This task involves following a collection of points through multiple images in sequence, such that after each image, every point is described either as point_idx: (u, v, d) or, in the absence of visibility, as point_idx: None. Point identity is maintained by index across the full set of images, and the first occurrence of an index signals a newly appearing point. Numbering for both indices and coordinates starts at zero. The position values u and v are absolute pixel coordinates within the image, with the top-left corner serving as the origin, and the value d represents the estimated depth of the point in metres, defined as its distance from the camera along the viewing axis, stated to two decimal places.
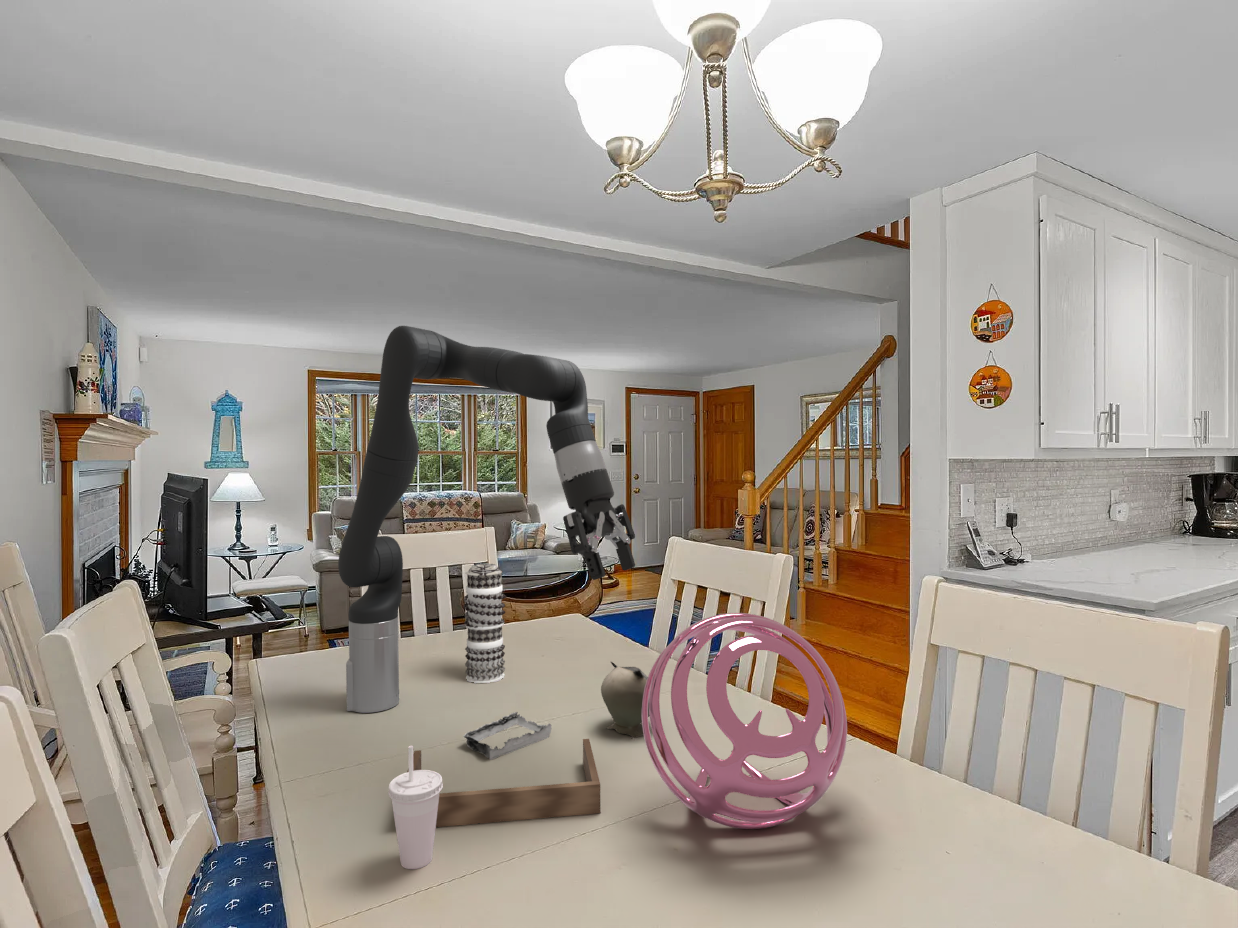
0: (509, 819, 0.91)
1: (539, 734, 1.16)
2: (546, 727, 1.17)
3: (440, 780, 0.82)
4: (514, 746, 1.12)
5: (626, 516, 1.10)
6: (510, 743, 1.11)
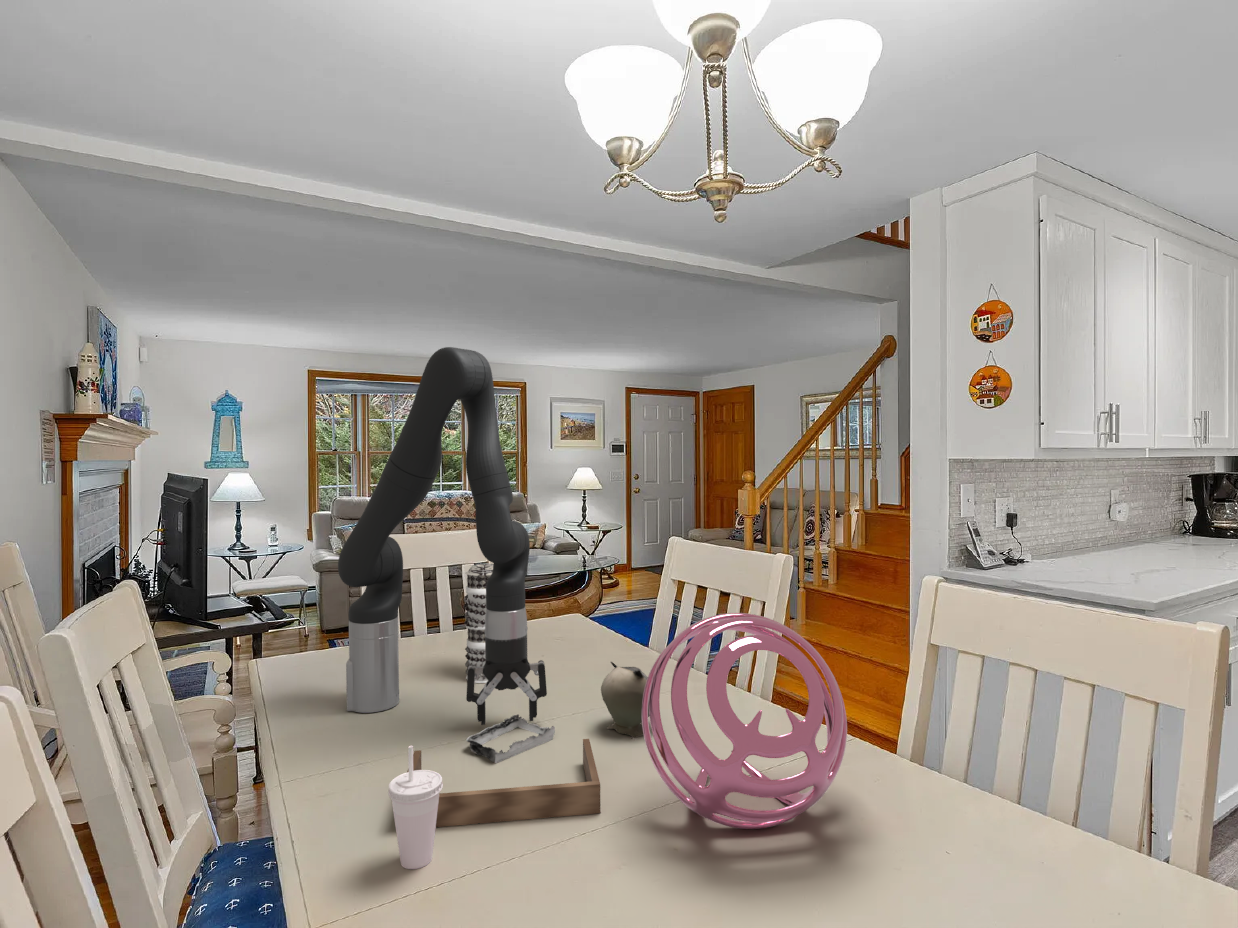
0: (509, 819, 0.91)
1: (542, 737, 1.15)
2: (550, 729, 1.16)
3: (440, 780, 0.82)
4: (519, 749, 1.11)
5: (542, 675, 1.21)
6: (514, 746, 1.10)
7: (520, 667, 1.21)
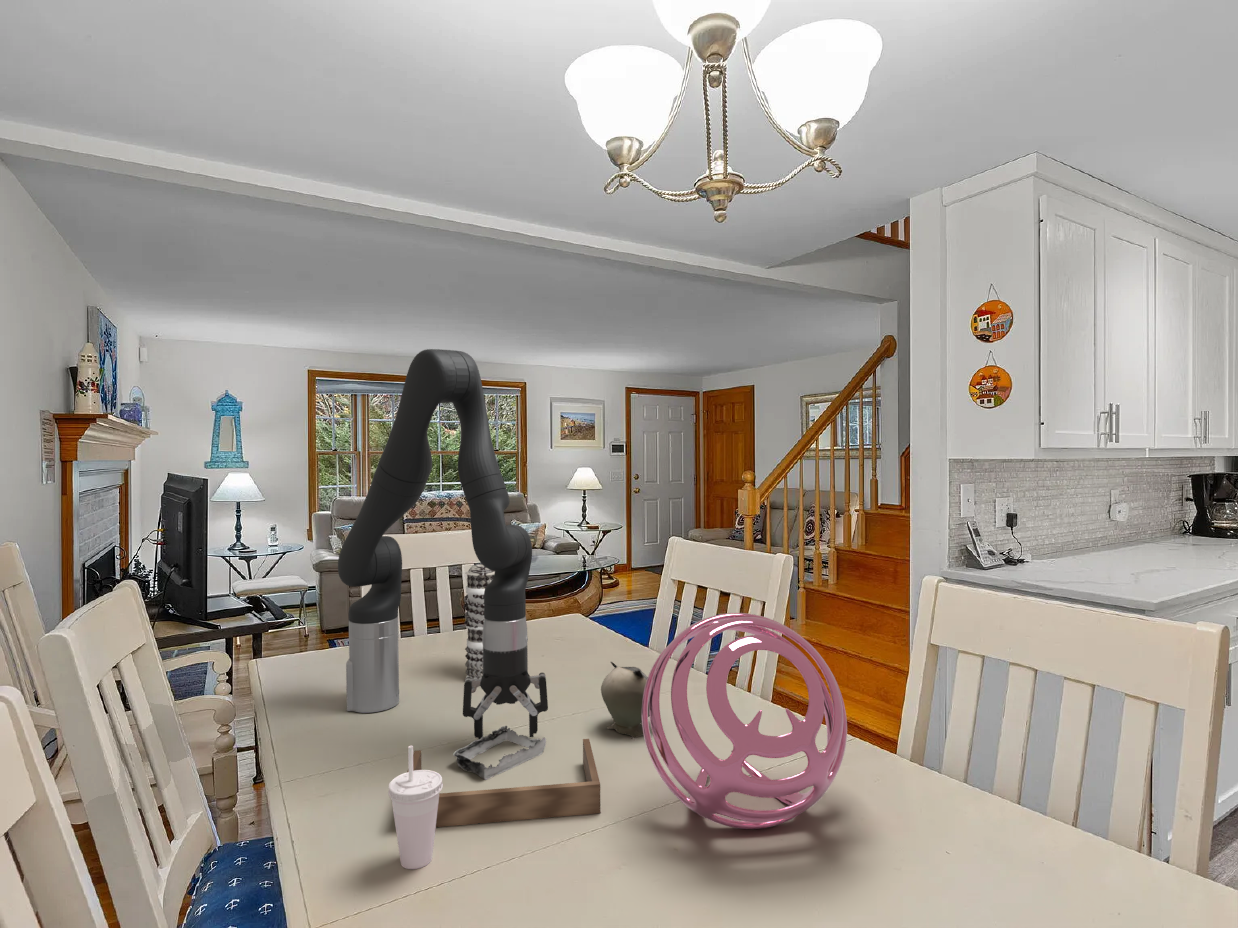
0: (509, 819, 0.91)
1: (533, 749, 1.09)
2: (541, 741, 1.11)
3: (440, 780, 0.82)
4: (509, 763, 1.06)
5: (543, 689, 1.14)
6: (504, 760, 1.05)
7: (520, 680, 1.14)
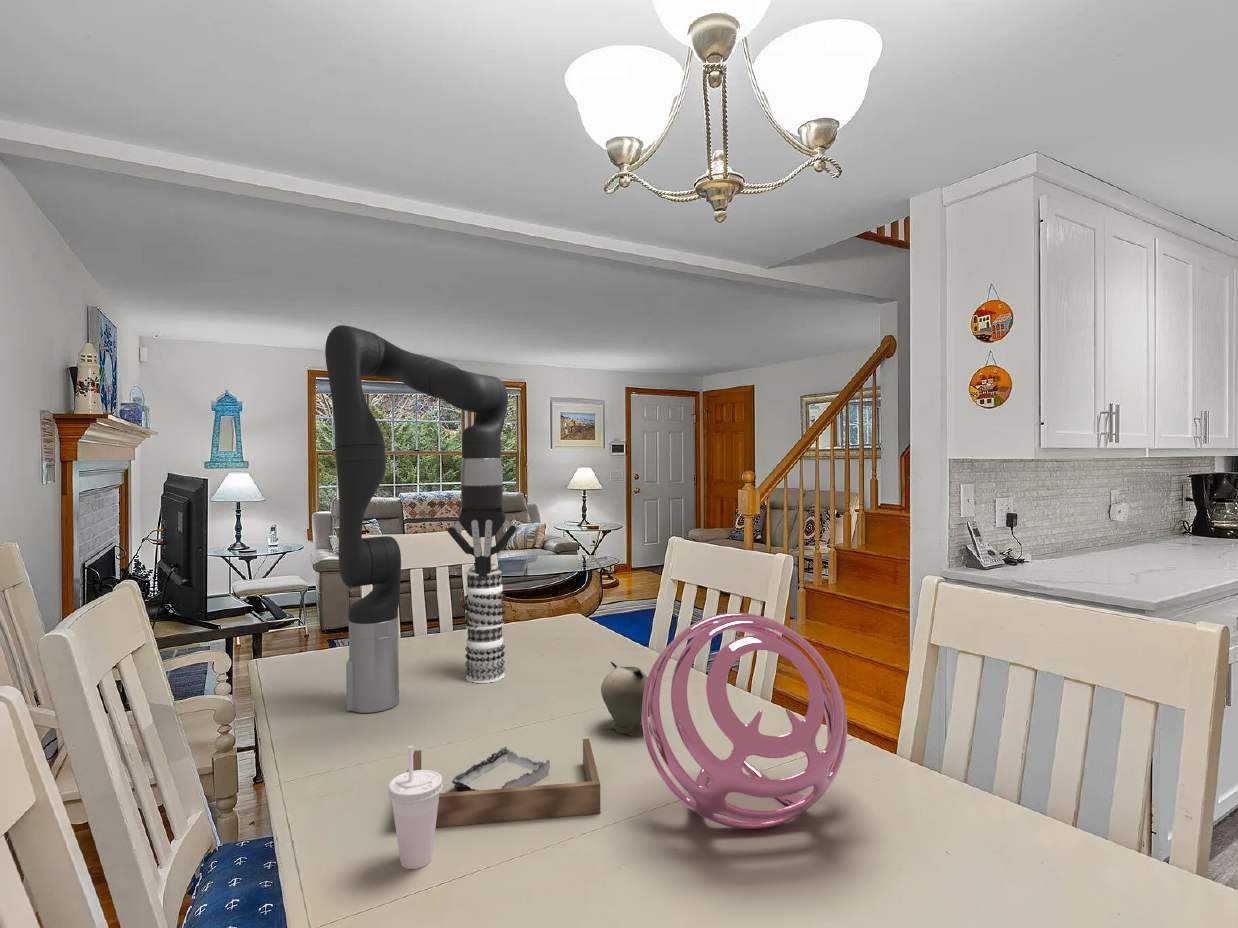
0: (509, 819, 0.91)
1: (537, 773, 1.02)
2: (545, 764, 1.03)
3: (440, 780, 0.82)
4: None
5: (508, 536, 1.23)
6: (507, 787, 0.97)
7: (497, 514, 1.23)
